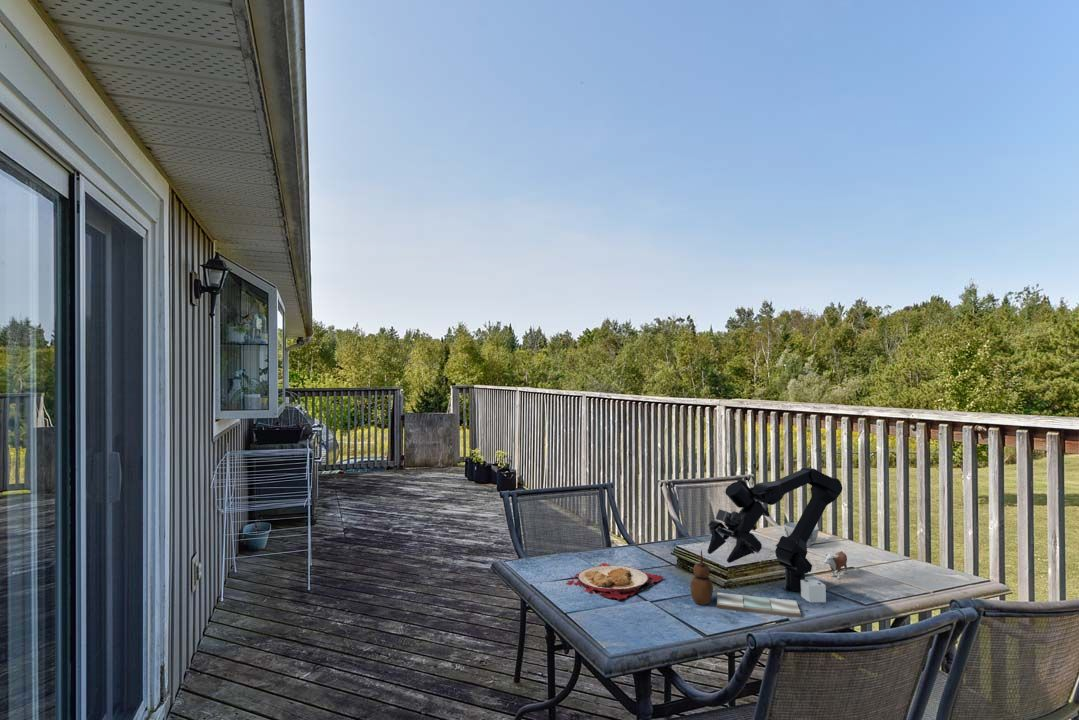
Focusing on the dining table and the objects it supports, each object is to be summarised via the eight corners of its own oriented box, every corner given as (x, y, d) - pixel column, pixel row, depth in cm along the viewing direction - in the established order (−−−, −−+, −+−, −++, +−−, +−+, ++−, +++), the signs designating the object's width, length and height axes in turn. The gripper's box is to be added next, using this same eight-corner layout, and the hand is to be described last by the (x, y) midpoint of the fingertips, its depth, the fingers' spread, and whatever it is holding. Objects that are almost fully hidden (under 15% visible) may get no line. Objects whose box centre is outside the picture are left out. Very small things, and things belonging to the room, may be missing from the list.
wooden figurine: (697, 597, 173) (696, 547, 174) (715, 601, 169) (715, 550, 170) (687, 603, 168) (687, 552, 168) (706, 608, 164) (705, 555, 165)
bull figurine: (822, 579, 189) (821, 554, 190) (838, 570, 198) (837, 546, 198) (835, 582, 186) (835, 557, 186) (851, 573, 195) (851, 549, 195)
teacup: (826, 548, 225) (826, 527, 225) (801, 551, 220) (801, 530, 221) (797, 538, 239) (796, 519, 239) (773, 541, 234) (773, 521, 235)
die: (801, 596, 174) (800, 579, 174) (817, 596, 174) (816, 579, 174) (809, 602, 169) (809, 585, 169) (826, 602, 169) (825, 584, 169)
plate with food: (664, 582, 189) (664, 571, 189) (620, 603, 169) (620, 590, 169) (603, 567, 205) (603, 557, 205) (556, 585, 185) (556, 573, 185)
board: (716, 595, 174) (716, 591, 174) (796, 604, 167) (796, 599, 167) (716, 608, 164) (716, 603, 165) (801, 617, 158) (801, 612, 158)
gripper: (712, 494, 182) (683, 532, 178) (753, 506, 165) (721, 548, 161) (733, 517, 185) (705, 555, 181) (775, 531, 167) (744, 573, 163)
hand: (717, 557), depth 171 cm, fingers open, 9 cm apart
